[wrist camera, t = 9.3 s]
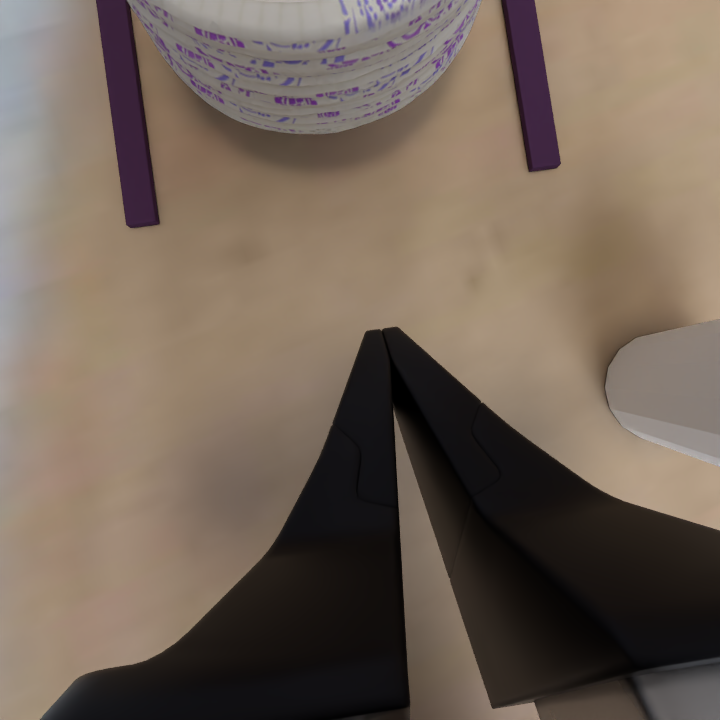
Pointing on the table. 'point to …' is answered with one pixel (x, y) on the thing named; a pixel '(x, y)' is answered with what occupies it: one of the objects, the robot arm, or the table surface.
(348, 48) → the paper bowls
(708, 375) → the shot glass
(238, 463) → the table surface
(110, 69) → the frame
